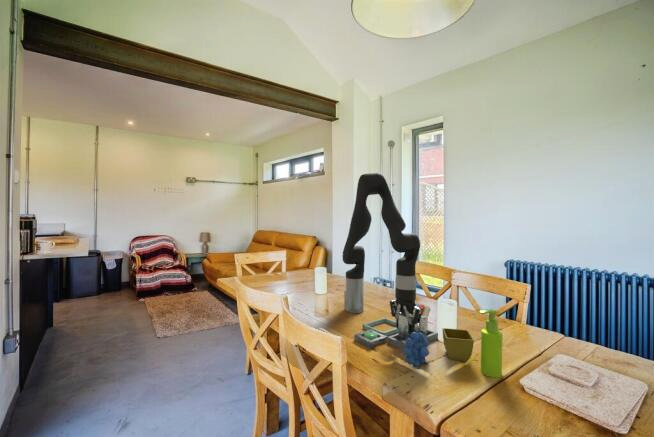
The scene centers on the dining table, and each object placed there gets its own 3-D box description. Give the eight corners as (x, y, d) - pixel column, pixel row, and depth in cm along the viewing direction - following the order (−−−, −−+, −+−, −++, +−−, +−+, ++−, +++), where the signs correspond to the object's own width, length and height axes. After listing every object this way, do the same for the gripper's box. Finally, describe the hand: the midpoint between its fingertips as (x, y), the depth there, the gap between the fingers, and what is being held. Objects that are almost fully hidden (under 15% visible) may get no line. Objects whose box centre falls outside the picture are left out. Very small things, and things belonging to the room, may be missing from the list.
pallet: (406, 354, 110) (406, 345, 110) (387, 345, 117) (387, 337, 117) (437, 341, 121) (438, 332, 121) (418, 334, 128) (418, 326, 128)
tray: (362, 330, 132) (362, 324, 132) (385, 323, 140) (385, 317, 140) (383, 340, 122) (383, 333, 122) (406, 332, 130) (406, 325, 130)
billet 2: (411, 337, 122) (411, 316, 122) (419, 334, 125) (419, 313, 125) (422, 341, 118) (422, 319, 118) (430, 338, 121) (430, 317, 121)
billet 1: (395, 335, 117) (395, 313, 116) (404, 332, 119) (404, 311, 119) (406, 339, 112) (406, 317, 112) (414, 336, 115) (414, 314, 115)
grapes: (415, 378, 94) (415, 339, 94) (398, 369, 100) (398, 332, 99) (438, 367, 101) (439, 331, 100) (421, 359, 106) (421, 325, 106)
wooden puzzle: (389, 316, 152) (389, 309, 152) (396, 305, 169) (396, 299, 169) (426, 321, 145) (426, 313, 145) (429, 309, 162) (430, 302, 162)
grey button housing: (354, 342, 120) (354, 334, 120) (370, 336, 126) (370, 329, 125) (370, 350, 113) (370, 342, 113) (387, 344, 118) (387, 336, 118)
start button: (361, 341, 120) (361, 334, 120) (370, 338, 123) (370, 331, 123) (370, 346, 116) (370, 338, 116) (380, 342, 119) (380, 335, 119)
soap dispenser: (474, 368, 100) (474, 307, 100) (494, 367, 101) (495, 307, 100) (484, 378, 94) (485, 313, 94) (506, 377, 95) (507, 313, 95)
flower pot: (474, 366, 101) (474, 339, 101) (446, 364, 103) (446, 337, 103) (467, 354, 110) (467, 329, 110) (441, 352, 112) (442, 327, 112)
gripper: (384, 284, 119) (384, 327, 119) (415, 292, 108) (414, 340, 108) (397, 281, 124) (397, 323, 124) (428, 288, 112) (427, 335, 112)
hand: (405, 331), depth 116 cm, fingers closed on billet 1, 5 cm apart
